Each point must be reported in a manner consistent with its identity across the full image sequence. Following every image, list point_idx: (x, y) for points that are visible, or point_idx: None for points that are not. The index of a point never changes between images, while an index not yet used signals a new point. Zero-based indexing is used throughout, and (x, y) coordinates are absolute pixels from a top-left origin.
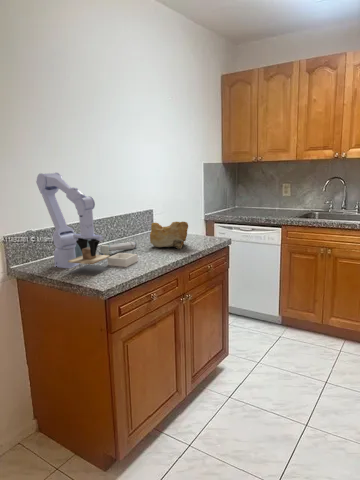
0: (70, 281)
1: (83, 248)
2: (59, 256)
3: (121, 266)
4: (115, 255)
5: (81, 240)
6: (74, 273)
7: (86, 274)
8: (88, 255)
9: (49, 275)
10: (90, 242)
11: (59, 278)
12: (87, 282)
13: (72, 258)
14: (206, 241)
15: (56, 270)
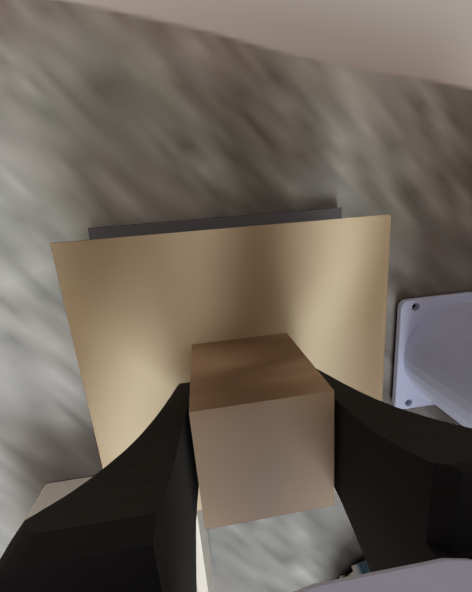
0: (175, 53)
1: (333, 422)
2: None
3: (84, 482)
4: (197, 584)
5: (459, 547)
6: (278, 215)
7: (170, 232)
8: (214, 362)
9: (440, 123)
10: (66, 526)
11: (317, 88)
12: (19, 86)
13: (451, 374)
14: None
15: (467, 243)
